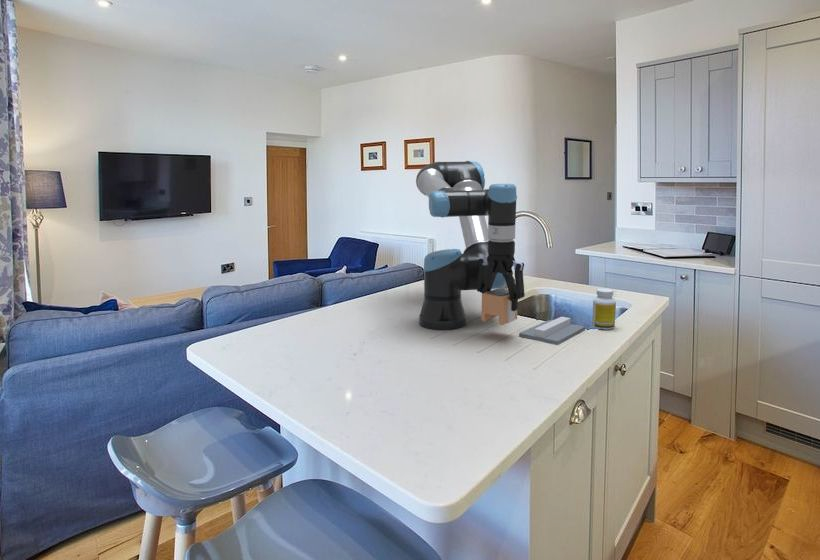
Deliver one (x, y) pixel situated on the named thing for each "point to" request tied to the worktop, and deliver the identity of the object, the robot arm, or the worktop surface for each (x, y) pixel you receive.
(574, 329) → the rail board
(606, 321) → the pill bottle
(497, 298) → the block
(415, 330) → the worktop surface
